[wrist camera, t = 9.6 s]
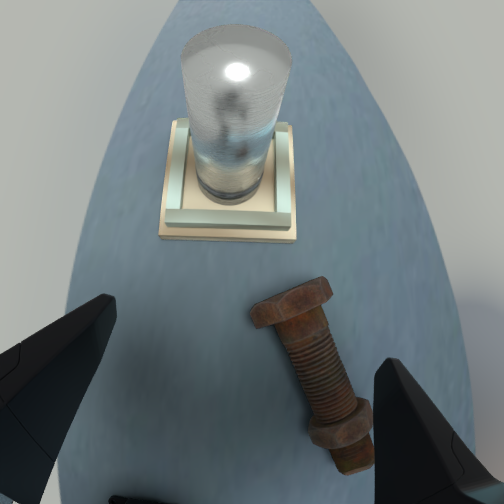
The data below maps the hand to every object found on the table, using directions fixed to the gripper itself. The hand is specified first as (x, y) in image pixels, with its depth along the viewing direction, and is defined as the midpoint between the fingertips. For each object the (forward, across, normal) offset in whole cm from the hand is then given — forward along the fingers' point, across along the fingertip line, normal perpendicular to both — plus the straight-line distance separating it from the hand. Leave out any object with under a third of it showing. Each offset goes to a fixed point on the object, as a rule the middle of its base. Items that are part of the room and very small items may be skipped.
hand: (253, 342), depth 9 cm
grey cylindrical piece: (+16, +3, +1) cm, 17 cm away
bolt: (+8, -7, +12) cm, 16 cm away
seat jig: (+18, +3, +2) cm, 18 cm away
